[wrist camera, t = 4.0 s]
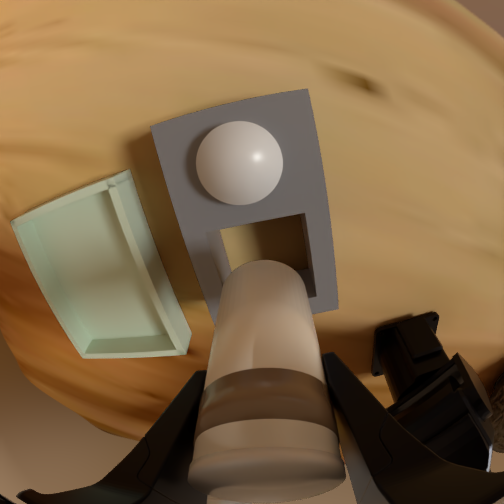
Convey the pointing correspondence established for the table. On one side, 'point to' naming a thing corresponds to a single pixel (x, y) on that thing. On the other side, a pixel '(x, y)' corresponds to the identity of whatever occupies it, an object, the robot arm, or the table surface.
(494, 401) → the vase
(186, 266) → the table surface
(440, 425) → the robot arm
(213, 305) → the block
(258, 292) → the cylinder
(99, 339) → the parts tray
